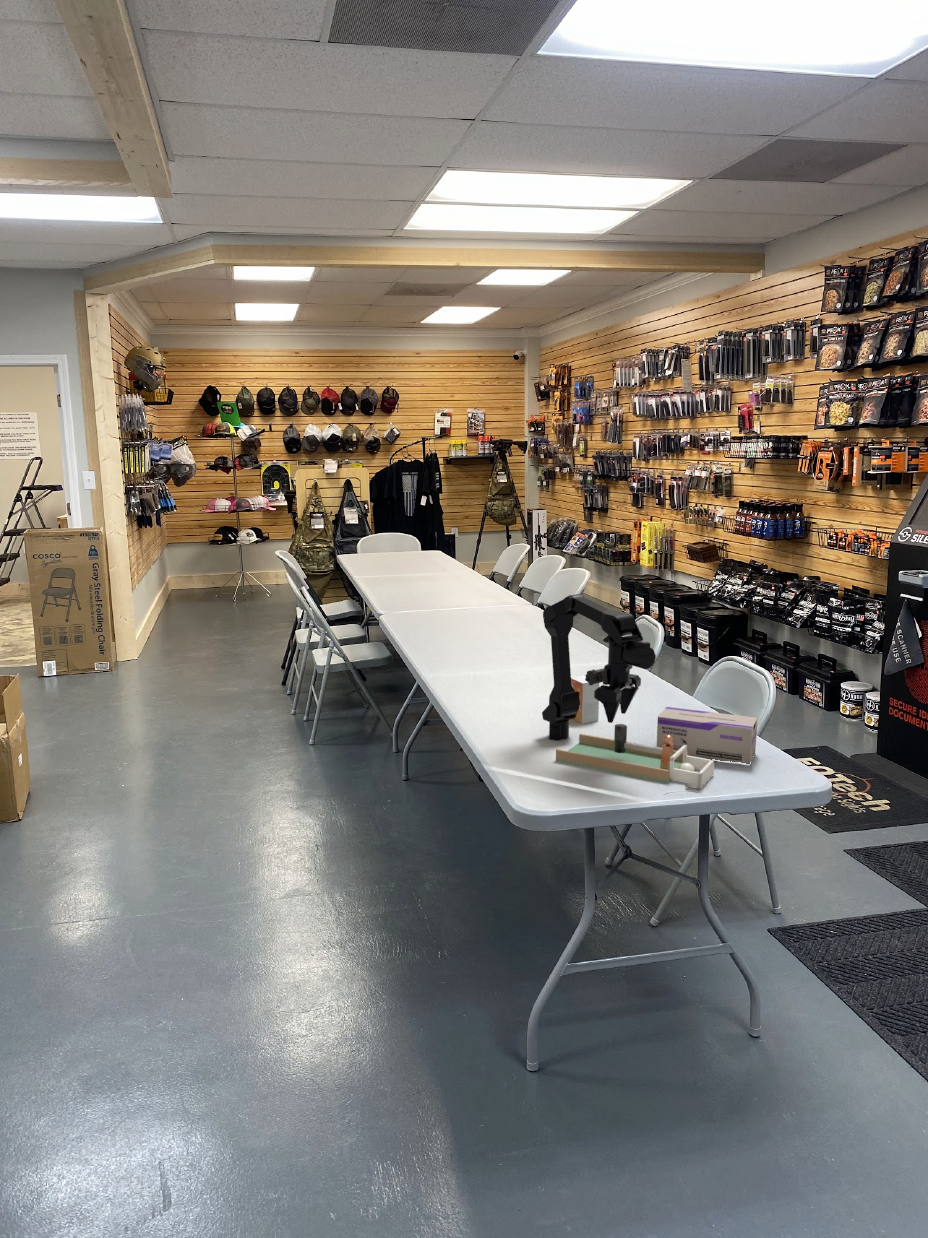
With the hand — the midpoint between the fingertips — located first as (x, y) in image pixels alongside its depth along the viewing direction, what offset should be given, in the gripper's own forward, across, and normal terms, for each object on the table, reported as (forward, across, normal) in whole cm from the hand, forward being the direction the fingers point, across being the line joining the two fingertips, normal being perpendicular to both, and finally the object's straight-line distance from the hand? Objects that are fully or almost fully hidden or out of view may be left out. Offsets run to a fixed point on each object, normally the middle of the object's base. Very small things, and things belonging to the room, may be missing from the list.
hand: (616, 717), depth 236 cm
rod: (+11, +1, +8) cm, 13 cm away
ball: (+10, +1, +20) cm, 22 cm away
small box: (+13, -32, -23) cm, 42 cm away
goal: (+12, +1, +21) cm, 25 cm away
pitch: (+13, +1, +2) cm, 13 cm away
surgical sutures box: (+13, -20, +19) cm, 30 cm away
